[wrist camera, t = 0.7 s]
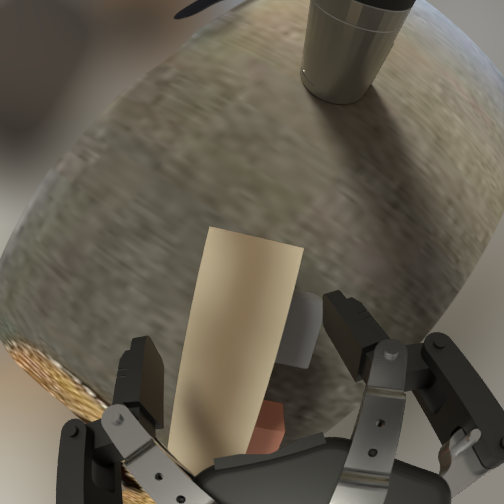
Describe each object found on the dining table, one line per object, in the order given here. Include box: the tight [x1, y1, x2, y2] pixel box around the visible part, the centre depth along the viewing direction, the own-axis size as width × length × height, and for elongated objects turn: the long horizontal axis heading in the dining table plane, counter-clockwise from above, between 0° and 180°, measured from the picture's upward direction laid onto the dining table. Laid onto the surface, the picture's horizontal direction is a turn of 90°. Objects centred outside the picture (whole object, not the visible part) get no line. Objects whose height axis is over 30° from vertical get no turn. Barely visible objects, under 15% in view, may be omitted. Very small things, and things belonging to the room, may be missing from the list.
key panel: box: [168, 227, 304, 476], centre depth 22 cm, size 5×22×16 cm, turn 167°
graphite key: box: [274, 289, 323, 369], centre depth 21 cm, size 3×5×5 cm, turn 167°
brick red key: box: [245, 400, 285, 454], centre depth 21 cm, size 3×5×5 cm, turn 167°
